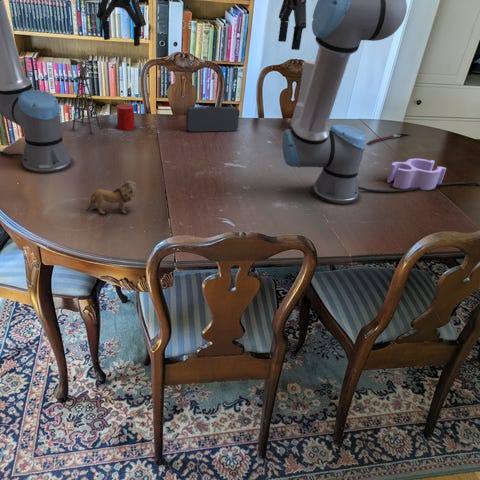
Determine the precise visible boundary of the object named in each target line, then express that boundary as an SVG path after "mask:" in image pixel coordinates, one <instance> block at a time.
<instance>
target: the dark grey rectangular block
mask: <svg viewBox="0 0 480 480" xmlns="http://www.w3.org/2000/svg"><path fill="white" fill-rule="evenodd" d="M185 111H186V114H185V118H186V119H185V129H186V130H187V131H188V132H191V133H192V132H193V133H196V132H197V133H199V132H200V133H201V132H226V131H227V132H232V131H233V132H234V131H237V130H238V129H239V124H240V123H239V121H240V119H239V118H240V113H241V111H240V109H239V108H238V107H237V106H190V107H187V109H186V110H185Z"/></svg>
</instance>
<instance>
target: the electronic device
mask: <svg viewBox="0 0 480 480" xmlns="http://www.w3.org/2000/svg"><path fill="white" fill-rule="evenodd" d="M315 60H316V59H311V58H307V59H305V60H304V62H303V68H302V73H301V79H300V85H299V92H298V98H297V102H296V104H295V107H294V111H293V114H292V117H291V120H290V127H291V128H292V125H293V122H294V121H295V120H297V119H299V118H300V114H301V111H302V107H303V104H304V100H305V96H306V93H307V89H308V85H309V82H310V78H311V74H312V71H313V67H314V64H315Z"/></svg>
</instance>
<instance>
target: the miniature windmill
mask: <svg viewBox="0 0 480 480" xmlns="http://www.w3.org/2000/svg"><path fill="white" fill-rule="evenodd" d="M78 56H79V57H77V59H78V60H76V59H73V58H69V61H70V66H77V68H78V69H77V71H78V73H79V76H77V77H75V80H78V84H77V89H76V96H75V98H76V99H75V103H74V104H75V105H74V113H73V119H72V129H71V130H72V131H75V125H76V123H80V124H81V125H84V124H85V125H88V127H89V133H90V134H92V133H93V131H92V124H93V123H95V122H96V121H97V126H98V127H99V128H101V127H102V126H101V123H100V117H99V116H98V112H97V110H96V105H95V104H94V100H93V97H92V95H93V94H91V91H90V87H89V85H90V84H89V83H88V80H89V79H91V78H92V77H91V76H87V75H88V74H89V70H90V64H89V63H90V60H89V59H90V57H88V56H89V54H88V53H86V52H85V50H84V51H82V52H81V53H79V55H78ZM86 88H87V91H88V93H87V91H86ZM80 91H81V92H80ZM79 98H80V99H79ZM88 98H90V102H91V104H89V103H88ZM84 100H85V103H84ZM80 102H81V104H80V105H78V103H80ZM84 106H85V107H86V108H84ZM92 109H93V111H94V112H93V113H94V115H95V116H91V115H90V110H92ZM77 110H78V111H77ZM84 111H86V114H87V115H84ZM80 112H81V115H79V116H78V117H77V114H79V113H80ZM80 118H81V121H79V120H78V119H80ZM84 118H87V120H88V122H87V121H86V122H85V121H84ZM91 119H94V120H93V121H91Z"/></svg>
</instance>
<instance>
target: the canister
mask: <svg viewBox="0 0 480 480" xmlns="http://www.w3.org/2000/svg"><path fill="white" fill-rule="evenodd" d="M116 121H117V128H118V129H119V130H120V131H132V130H134V129H135V128H136V127H135V106H134V105H133V104H131V103H119V104H116Z"/></svg>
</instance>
